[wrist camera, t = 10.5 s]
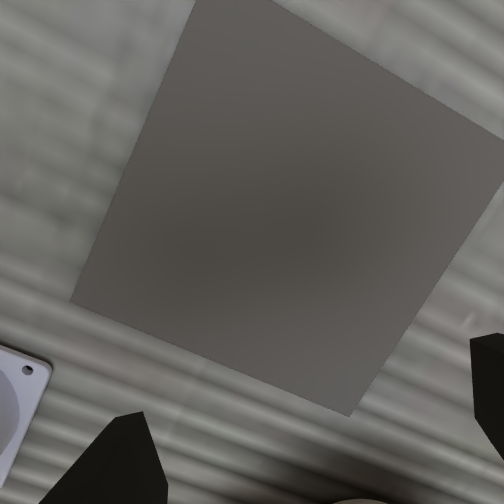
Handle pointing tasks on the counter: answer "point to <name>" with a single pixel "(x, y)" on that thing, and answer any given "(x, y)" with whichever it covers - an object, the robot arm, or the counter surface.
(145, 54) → the counter surface
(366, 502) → the teacup
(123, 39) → the counter surface
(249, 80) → the mat
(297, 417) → the counter surface
